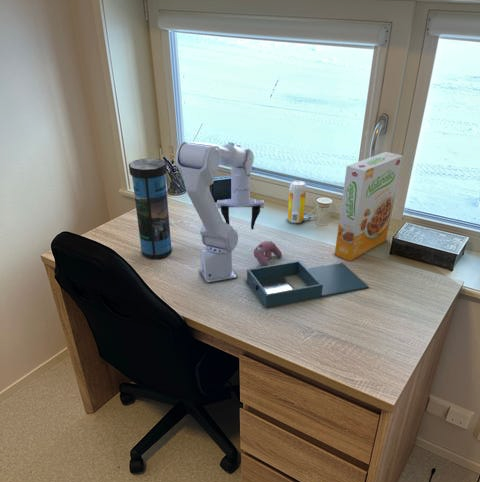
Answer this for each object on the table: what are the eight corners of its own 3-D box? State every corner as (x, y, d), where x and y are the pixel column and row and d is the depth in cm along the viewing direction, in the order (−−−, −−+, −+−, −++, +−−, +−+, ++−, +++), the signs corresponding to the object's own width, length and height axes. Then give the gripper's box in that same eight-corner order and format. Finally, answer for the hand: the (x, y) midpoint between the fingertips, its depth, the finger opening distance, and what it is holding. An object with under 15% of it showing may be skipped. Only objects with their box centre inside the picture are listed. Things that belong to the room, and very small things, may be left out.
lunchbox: (263, 308, 129) (264, 295, 127) (245, 281, 141) (245, 269, 139) (368, 287, 138) (370, 275, 136) (342, 264, 150) (343, 252, 148)
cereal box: (350, 260, 152) (364, 170, 136) (334, 254, 156) (346, 166, 139) (385, 240, 166) (402, 155, 149) (370, 234, 169) (385, 151, 153)
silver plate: (270, 304, 131) (270, 303, 131) (254, 282, 141) (255, 282, 141) (300, 298, 133) (300, 297, 133) (282, 277, 143) (282, 277, 143)
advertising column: (180, 250, 158) (173, 162, 141) (158, 263, 150) (148, 172, 133) (155, 242, 163) (146, 156, 146) (132, 254, 155) (120, 165, 139)
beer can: (303, 217, 182) (306, 180, 173) (303, 224, 177) (306, 186, 168) (287, 217, 182) (290, 179, 174) (287, 223, 177) (290, 185, 169)
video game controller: (273, 257, 157) (266, 238, 155) (283, 255, 154) (276, 236, 152) (256, 269, 151) (249, 249, 149) (267, 267, 147) (259, 247, 145)
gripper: (263, 183, 145) (261, 223, 153) (217, 183, 145) (218, 223, 153) (264, 191, 140) (263, 232, 147) (216, 191, 139) (217, 232, 147)
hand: (240, 228), depth 150 cm, fingers open, 7 cm apart
